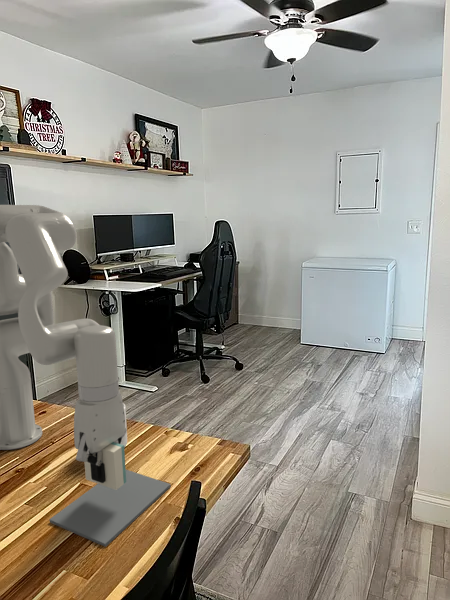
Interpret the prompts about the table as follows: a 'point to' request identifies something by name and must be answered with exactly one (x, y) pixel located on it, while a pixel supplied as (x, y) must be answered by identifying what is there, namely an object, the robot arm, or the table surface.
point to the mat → (110, 508)
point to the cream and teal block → (111, 466)
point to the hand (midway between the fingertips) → (105, 475)
